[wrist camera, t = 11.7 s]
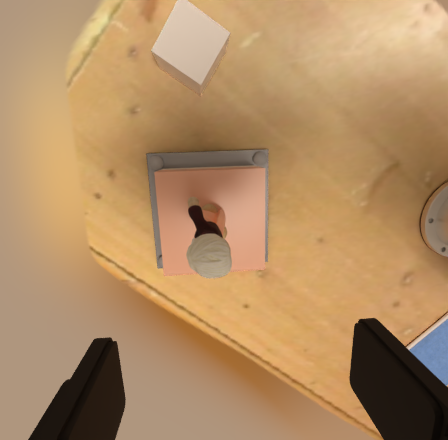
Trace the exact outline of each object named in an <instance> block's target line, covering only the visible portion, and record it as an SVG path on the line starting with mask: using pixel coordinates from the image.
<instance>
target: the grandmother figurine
mask: <svg viewBox="0 0 448 440" xmlns="http://www.w3.org/2000/svg"><path fill="white" fill-rule="evenodd" d="M188 206H189V209H188V213H189V216H190V218H191V219H192V220H193V222H194V224H195V227H196V229H197V230H196V232H195V235H194V238H195V239H194V238H193V240H192V242H191V245H190V246H189V247H188V250H187V254H186V257H187V260H188V263H189V266H190V268H191V269H192V270H194V271H195V272H197V273H198V274H199V275H201V276H203V277H205V278H219V277H222V276H225V275H227V274H228V273H229V272H230V270H231V267H232V258H231V250H230V246H229V244H228V243H227V241H226V240H225V238H226V236H227V229H226V227H225V221H226V215H225V213H224V211H223V210H219V211H218V210H217V208H216V207H215V206H214V205H212V204H207V205H205V206H203V207H202V208H201V207H200V204H199V200H198V199H197V198H196V197H190V198H189V199H188Z"/></svg>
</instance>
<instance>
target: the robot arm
mask: <svg viewBox="0 0 448 440" xmlns="http://www.w3.org/2000/svg"><path fill="white" fill-rule="evenodd" d="M421 232H422V236H423V239H424V241H425V243H426V244H427V245H428V247H429V248H431V249H432V250H433V251H434V252H436V253H438V254H441V255H443V256H446V257H448V182H447V183H445V184H443V185H442V186H441V187H440V188H438V189H437V190H436V191H435V192H434V193H433V195H432V196H431V197H430V198H429V200H428V202H427V204H426V205H425V208H424V210H423V213H422V218H421ZM350 384H351V387H352V389H353V391H354V393H355V394H356V396H357V397H358V399H359V401H360V402H361V404H362V405H363V407H364V409H365V410H366V412H367V413H368V415H369V416H370V418H371V420H372V421H373V423H374V424H375V426H376V428H377V429H378V431H379V432H380V434H381V436H382V437H383V439H384V440H448V387H447V386H446V385H445V384H444V383H443V382H442V381H441V380H439V379H438V378H437V377H436V376H435V375H434V374H433V373H432V372H431V371H430V370H429V369H428V368H427V367H426V366H425V365H424V364H423V363H422V362H421V361H420V360H419V359H418V358H417V357H416V356H415V355H413V354H412V353H411V352H410V351H409V350H408V349H407V348H406V347H405V346H404V345H403V344H402V343H401V342H400V341H399V340H398V339H397V338H396V337H395V336H394V335H393V334H392V333H391V332H390V331H389V330H387V329H386V328H385V327H384V326H383V325H382V324H381V323H380V322H379V321H378V320H377V319H375V318H368V319H360V320H359V321H358V323H356V324H355V326H354V337H353V347H352V358H351V369H350ZM124 408H125V392H124V386H123V379H122V373H121V365H120V359H119V352H118V345H117V342H116V341H112V338H97V339H94V340H93V342H92V343H91V345H90V347H89V348H88V350H87V352H86V354H85V355H84V357H83V359H82V360H81V362H80V364H79V365H78V367H77V369H76V370H75V372H74V374H73V375H72V377H71V379H68V380H66V381H65V382H64V383H63V384H62V386H61V387H60V389H59V391H58V392H57V394H56V395H55V397H54V399H53V400H52V402H51V404H50V405H49V407H48V408H47V410H46V412H45V413H44V415H43V417H42V418H41V420H40V421H39V423H38V425H37V427H36V428H35V430H34V431H33V433H32V435H31V436H30V438H29V439H28V440H115V438H116V435H117V431H118V428H119V425H120V422H121V418H122V415H123V412H124Z"/></svg>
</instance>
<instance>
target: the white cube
mask: <svg viewBox="0 0 448 440" xmlns="http://www.w3.org/2000/svg"><path fill="white" fill-rule="evenodd" d="M229 37H230V32H229V31H227V30H226V29H225V28H223V27H222V26H221V25H219V24H218V23H217V22H215V21H214V20H213V19H211V18H210V17H209V16H207V15H206V14H205V13H203V12H202V11H201V10H199V9H198V8H197V7H195V6H194V5H193V4H191V3H190V2H189V1H187V0H177V2H176V4H175V6H174V8H173V10H172V12H171V14H170V16H169V18H168V19H167V21H166V23H165V25H164V27H163V29H162V31H161V33H160V35H159V37H158V39H157V41H156V43H155V44H154V46H153V48H152V50H151V52H152V54H153V56H154V58H155V60H156V62H157V64H158V66H159V68H160V69H162V70H163V71H165V72H166V73H168V74H169V75H170V76H172V77H173V78H175V79H176V80H178V81H179V82H181V83H182V84H184V85H185V86H187V87H188V88H190V89H191V90H192V91H194V92H195V93H197V94H198V95H200V96H202V94H203V92H204V90H205V89H206V87H207V85H208V83H209V81H210V80H211V78H212V76H213V74H214V73H215V71H216V69H217V67H218V66H219V64H220V62H221V60H222V59H223V57H224V55H225V53H226V49H227V45H228V41H229Z"/></svg>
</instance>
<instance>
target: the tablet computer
mask: <svg viewBox="0 0 448 440" xmlns="http://www.w3.org/2000/svg"><path fill="white" fill-rule="evenodd" d="M406 348H407V349H408V350H409V351H410V352H411V353H412V354H413V355H415V356H416V357H417V358H418V359H419V360H420V361H421V362H422V363H423V364H424V365H425V366H426V367H427V368H428V369H429V370H430V371H431V372H432V373H433V374H434V375H435V376H436V377H437V378H438V379H439V380H441V381H442V382H443V383H444V384H445V385H446V386H447V385H448V313H447V314H445V315H444V316H443V317H442V318H441V319H440V320H438V321H437V322H436V323H435V324H434V325H432V326H431V327H430V328H429V329H427V330H426V331H425V332H424V333H423V334H421V335H420V336H419V337H418V338H416V339H415V340H414V341H413V342H412V343H410V344H409V345H408V346H407V347H406Z"/></svg>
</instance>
